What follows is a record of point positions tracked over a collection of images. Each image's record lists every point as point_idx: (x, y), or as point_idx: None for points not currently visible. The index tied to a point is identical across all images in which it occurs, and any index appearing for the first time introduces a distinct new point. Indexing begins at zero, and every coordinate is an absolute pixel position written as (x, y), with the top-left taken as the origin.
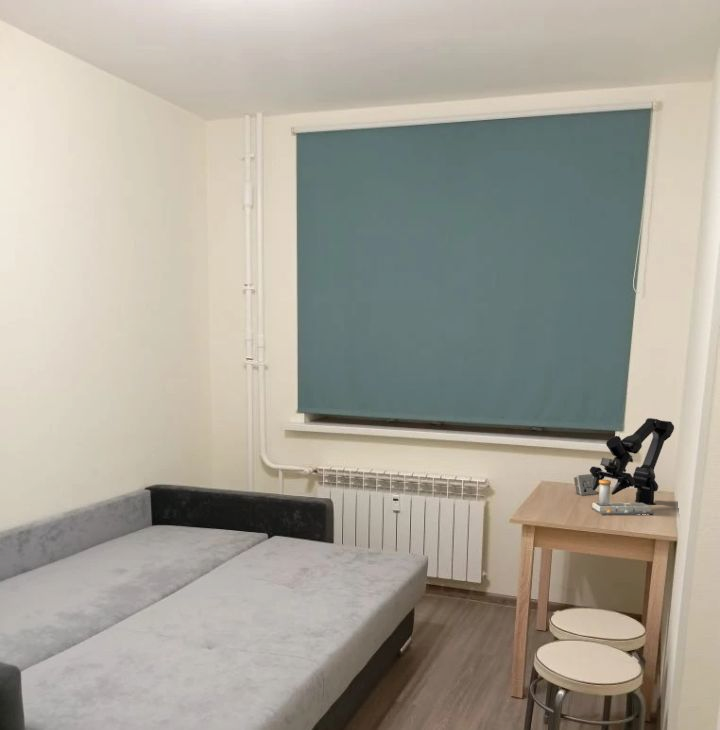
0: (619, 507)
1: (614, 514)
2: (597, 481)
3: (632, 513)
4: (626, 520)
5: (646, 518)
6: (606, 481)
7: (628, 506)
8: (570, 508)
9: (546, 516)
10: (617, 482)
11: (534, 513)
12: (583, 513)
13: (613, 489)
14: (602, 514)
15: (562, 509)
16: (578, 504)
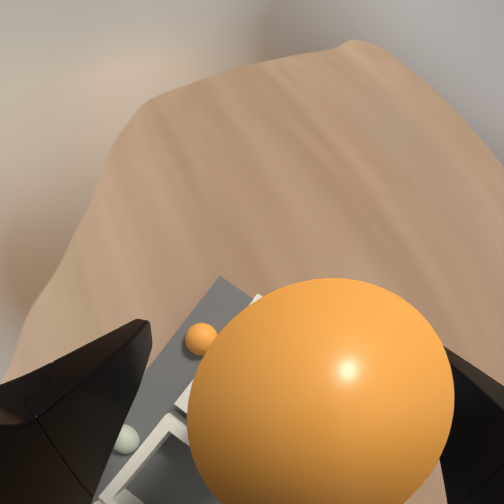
0: (157, 425)
1: (166, 347)
2: (486, 452)
3: None
4: (74, 284)
5: None
6: (261, 371)
7: (121, 484)
8: (430, 267)
9: (357, 82)
10: (27, 416)
11: (405, 91)
12: (319, 225)
13: (117, 345)
14: (220, 279)
15: (428, 212)
16: None
